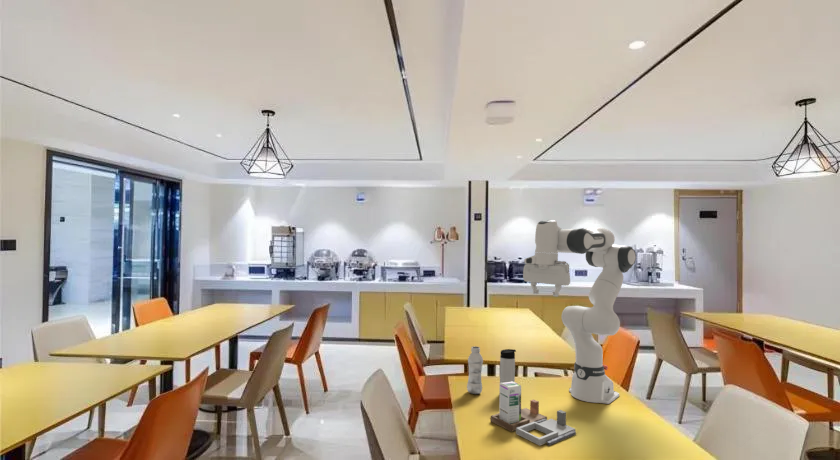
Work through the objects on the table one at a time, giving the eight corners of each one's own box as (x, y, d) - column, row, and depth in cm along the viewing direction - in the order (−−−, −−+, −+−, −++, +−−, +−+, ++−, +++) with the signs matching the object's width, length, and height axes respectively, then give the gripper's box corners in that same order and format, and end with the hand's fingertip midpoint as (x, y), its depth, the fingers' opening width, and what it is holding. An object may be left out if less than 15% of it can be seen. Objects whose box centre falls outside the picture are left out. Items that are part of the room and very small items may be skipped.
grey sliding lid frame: (551, 420, 153) (551, 406, 154) (575, 431, 145) (575, 415, 145) (515, 433, 142) (516, 418, 142) (539, 445, 134) (540, 429, 134)
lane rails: (519, 410, 163) (519, 407, 163) (575, 434, 143) (575, 431, 143) (492, 418, 154) (492, 416, 154) (549, 445, 134) (549, 442, 134)
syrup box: (508, 428, 146) (508, 387, 147) (498, 421, 152) (499, 382, 152) (521, 426, 149) (521, 385, 149) (511, 419, 154) (512, 380, 155)
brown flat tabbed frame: (525, 410, 163) (525, 396, 163) (546, 418, 155) (547, 404, 155) (490, 421, 151) (490, 406, 152) (511, 431, 143) (511, 416, 144)
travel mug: (515, 399, 175) (516, 351, 176) (499, 397, 176) (500, 350, 177) (514, 394, 181) (515, 348, 182) (499, 392, 182) (500, 347, 183)
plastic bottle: (466, 390, 184) (468, 345, 185) (482, 391, 184) (483, 346, 184) (466, 395, 178) (467, 348, 179) (482, 396, 177) (483, 349, 178)
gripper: (574, 261, 158) (573, 297, 157) (530, 259, 174) (530, 292, 174) (564, 261, 154) (563, 298, 153) (521, 259, 170) (520, 292, 170)
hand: (545, 295), depth 164 cm, fingers open, 8 cm apart
